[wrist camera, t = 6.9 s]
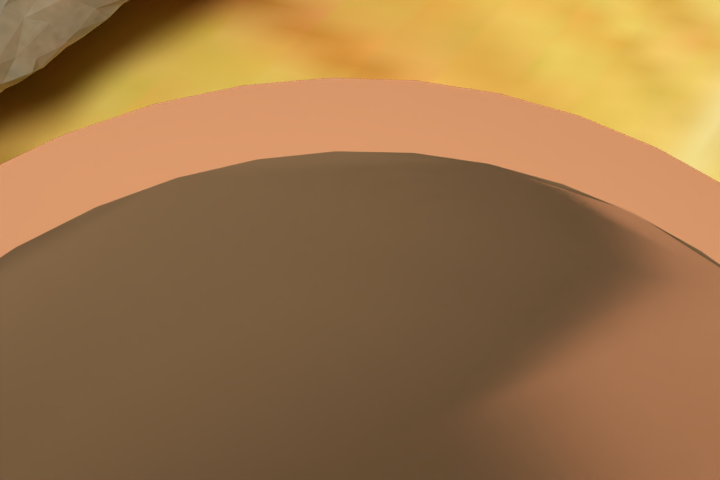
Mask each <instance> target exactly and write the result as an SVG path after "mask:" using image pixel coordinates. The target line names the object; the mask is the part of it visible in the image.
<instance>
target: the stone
mask: <svg viewBox="0 0 720 480" xmlns="http://www.w3.org/2000/svg"><path fill="white" fill-rule="evenodd" d="M127 1H129V0H0V93H1V92H2V91H3V90H4V89H6V88H8V87H11V86H13V85H16V84H18V83H19V82H21V81H22V80H24V79H25V78H27V77H28V76H30V75H32V74H33V73H35V72H36V71H38V70H39V69H42V68H44V67H45V66H46V65H47V64H48V63H49V62H50V61H52V60H53V59H54V58H55V57H56V56H57V55H58V54H59V53H60V52H62V51H63V50H64V49H65V48H66V47H68V46H70V45H71V44H73V43H74V42H76V41H78V40H79V39H81V38H83V37H84V36H85V35H87V34H88V33H89V32H91V31H92V30H93V29H95V28H96V27H98V26H99V25H100V24H102V23H103V22H104V21H106V20H107V19H108V18H109V17H110V16H111V15H112V14H113V13H114V12H115V11H116V10H117V9H118V8H119V7H120V6H121V5H122V4H124V3H126V2H127Z"/></svg>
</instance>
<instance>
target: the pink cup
mask: <svg viewBox="0 0 720 480" xmlns="http://www.w3.org/2000/svg"><path fill="white" fill-rule="evenodd" d="M0 480H720V182H718V181H716V180H714V179H712V178H711V177H709V176H707V175H705V174H703V173H702V172H700V171H698V170H696V169H694V168H693V167H691V166H689V165H687V164H685V163H684V162H682V161H680V160H678V159H676V158H675V157H673V156H671V155H669V154H667V153H666V152H664V151H662V150H660V149H658V148H656V147H654V146H651V145H649V144H647V143H644V142H642V141H639V140H637V139H634V138H632V137H630V136H627V135H625V134H622V133H620V132H617V131H615V130H613V129H610V128H608V127H605V126H603V125H600V124H598V123H596V122H593V121H591V120H588V119H586V118H583V117H581V116H578V115H575V114H571V113H567V112H564V111H560V110H557V109H553V108H550V107H546V106H542V105H539V104H535V103H532V102H528V101H524V100H521V99H517V98H514V97H510V96H507V95H503V94H499V93H493V92H487V91H480V90H474V89H467V88H461V87H454V86H448V85H442V84H435V83H429V82H422V81H415V80H384V79H354V78H322V79H310V80H299V81H288V82H276V83H265V84H254V85H242V86H238V87H233V88H228V89H224V90H219V91H214V92H209V93H205V94H200V95H195V96H190V97H186V98H181V99H176V100H171V101H167V102H162V103H157V104H153V105H150V106H147V107H144V108H141V109H138V110H135V111H132V112H129V113H126V114H123V115H120V116H117V117H114V118H111V119H108V120H105V121H102V122H100V123H97V124H94V125H91V126H88V127H85V128H82V129H79V130H76V131H73V132H70V133H67V134H64V135H62V136H60V137H58V138H55V139H53V140H51V141H49V142H47V143H45V144H43V145H41V146H38V147H36V148H34V149H32V150H30V151H28V152H26V153H24V154H22V155H19V156H17V157H15V158H13V159H11V160H9V161H7V162H5V163H3V164H0Z"/></svg>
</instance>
